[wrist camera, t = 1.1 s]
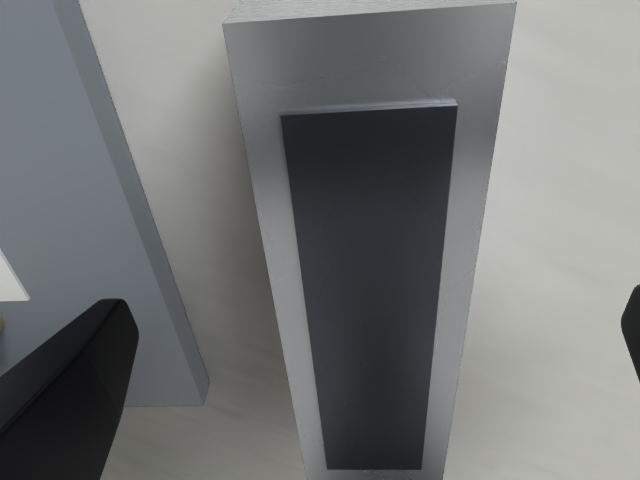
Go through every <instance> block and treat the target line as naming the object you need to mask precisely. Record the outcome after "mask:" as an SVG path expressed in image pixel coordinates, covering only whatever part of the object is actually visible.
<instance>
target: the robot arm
mask: <svg viewBox="0 0 640 480" xmlns="http://www.w3.org/2000/svg"><path fill="white" fill-rule="evenodd" d="M621 328H622V333H623V335H624V338H625V341H626V344H627V347H628V350H629V353H630V356H631V359H632V361H633V364H634V367H635V370H636V373H637V376H638V379H639V382H640V284H639V285H637V286H636V287H635V288H634V290H633V292H632V294H631V296H630V299H629V301H628V303H627V306H626V308H625V310H624V313H623V315H622V318H621ZM138 342H139V330H138V326H137V324H136V322H135V320H134V317H133V315H132V313H131V311H130V308H129V306H128V304H127V302H126V301H125V300H124V299H121V298H105V299H101V300H99V301H97V302H96V303H94V304H93V305H92V306H91V307H89V308H88V309H87V310H85V311H84V312H83V313H81V314H80V315H79V316H78V317H76V318H75V319H74V320H72V321H71V322H70V323H68V324H67V325H66V326H65V327H63V328H62V329H61V330H59V331H58V332H57V333H55V334H54V335H53V336H51V337H50V338H49V339H48V340H46V341H45V342H44V343H42V344H41V345H40V346H38V347H37V348H36V349H35V350H33V351H32V352H31V353H29V354H28V355H27V356H25V357H24V358H23V359H22V360H20V361H19V362H18V363H16V364H15V365H14V366H12V367H11V368H10V369H8V370H7V371H6V372H5V373H3V374H2V375H1V376H0V480H100V477H101V475H102V472H103V469H104V466H105V463H106V460H107V457H108V454H109V451H110V448H111V446H112V443H113V440H114V437H115V434H116V431H117V428H118V425H119V422H120V419H121V415H122V412H123V408H124V404H125V399H126V395H127V391H128V386H129V382H130V377H131V373H132V368H133V364H134V360H135V355H136V351H137V346H138Z"/></svg>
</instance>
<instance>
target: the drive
mask: <svg viewBox="0 0 640 480" xmlns="http://www.w3.org/2000/svg"><path fill="white" fill-rule="evenodd" d="M516 4H517V2H516V1H514V0H240V2H239V3H238V4H237V5H236V7H235V8H234V9H233V10H232V12H231V13H230V14H229V15H228V17H227V18H226V19H225V20H224V22H223V23H222V26H223V32H224V37H225V43H226V48H227V53H228V59H229V64H230V69H231V75H232V80H233V86H234V91H235V96H236V102H237V107H238V112H239V118H240V123H241V129H242V134H243V139H244V145H245V150H246V155H247V161H248V166H249V172H250V177H251V182H252V188H253V193H254V198H255V204H256V209H257V215H258V220H259V225H260V231H261V236H262V242H263V247H264V252H265V258H266V263H267V268H268V274H269V279H270V285H271V290H272V295H273V301H274V306H275V311H276V317H277V322H278V328H279V333H280V338H281V344H282V349H283V354H284V360H285V365H286V371H287V376H288V381H289V387H290V392H291V397H292V403H293V408H294V414H295V419H296V424H297V430H298V435H299V440H300V446H301V451H302V457H303V462H304V467H305V473H306V478H307V480H443V473H444V467H445V461H446V454H447V448H448V441H449V435H450V428H451V422H452V416H453V409H454V403H455V396H456V390H457V383H458V377H459V371H460V364H461V358H462V351H463V345H464V338H465V332H466V326H467V319H468V313H469V306H470V300H471V294H472V287H473V281H474V274H475V268H476V261H477V255H478V249H479V242H480V236H481V229H482V223H483V216H484V210H485V204H486V197H487V191H488V184H489V178H490V171H491V165H492V159H493V152H494V146H495V139H496V133H497V126H498V120H499V114H500V107H501V101H502V94H503V88H504V82H505V75H506V69H507V62H508V56H509V49H510V43H511V37H512V30H513V24H514V17H515V11H516Z"/></svg>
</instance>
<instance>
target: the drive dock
mask: <svg viewBox="0 0 640 480" xmlns="http://www.w3.org/2000/svg"><path fill="white" fill-rule="evenodd" d="M105 298H121V299H124V300H125V301H126V302H127V304H128V306H129V308H130V311H131V313H132V315H133V317H134V320H135V322H136V324H137V326H138V330H139V342H138V346H137V351H136V355H135V360H134V364H133V368H132V373H131V377H130V382H129V386H128V391H127V395H126V399H125V404H124V407H134V406H204V403H205V399H206V395H207V391H208V388H209V384H210V382H209V379H208V376H207V373H206V371H205V368H204V365H203V362H202V359H201V356H200V353H199V350H198V347H197V345H196V342H195V339H194V336H193V333H192V330H191V327H190V324H189V321H188V318H187V316H186V313H185V310H184V307H183V304H182V301H181V298H180V295H179V292H178V290H177V287H176V284H175V281H174V278H173V275H172V272H171V269H170V266H169V263H168V261H167V258H166V255H165V252H164V249H163V246H162V243H161V240H160V237H159V235H158V232H157V229H156V226H155V223H154V220H153V217H152V214H151V211H150V208H149V206H148V203H147V200H146V197H145V194H144V191H143V188H142V185H141V182H140V180H139V177H138V174H137V171H136V168H135V165H134V162H133V159H132V156H131V153H130V151H129V148H128V145H127V142H126V139H125V136H124V133H123V130H122V127H121V125H120V122H119V119H118V116H117V113H116V110H115V107H114V104H113V101H112V98H111V96H110V93H109V90H108V87H107V84H106V81H105V78H104V75H103V72H102V70H101V67H100V64H99V61H98V58H97V55H96V52H95V49H94V46H93V43H92V41H91V38H90V35H89V32H88V29H87V26H86V23H85V20H84V17H83V14H82V12H81V9H80V6H79V3H78V0H0V376H1V375H2V374H3V373H5V372H6V371H7V370H8V369H10V368H11V367H12V366H14V365H15V364H16V363H18V362H19V361H20V360H22V359H23V358H24V357H25V356H27V355H28V354H29V353H31V352H32V351H33V350H35V349H36V348H37V347H38V346H40V345H41V344H42V343H44V342H45V341H46V340H48V339H49V338H50V337H51V336H53V335H54V334H55V333H57V332H58V331H59V330H61V329H62V328H63V327H65V326H66V325H67V324H68V323H70V322H71V321H72V320H74V319H75V318H76V317H78V316H79V315H80V314H81V313H83V312H84V311H85V310H87V309H88V308H89V307H91V306H92V305H93V304H94V303H96V302H97V301H99V300H101V299H105Z"/></svg>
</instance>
